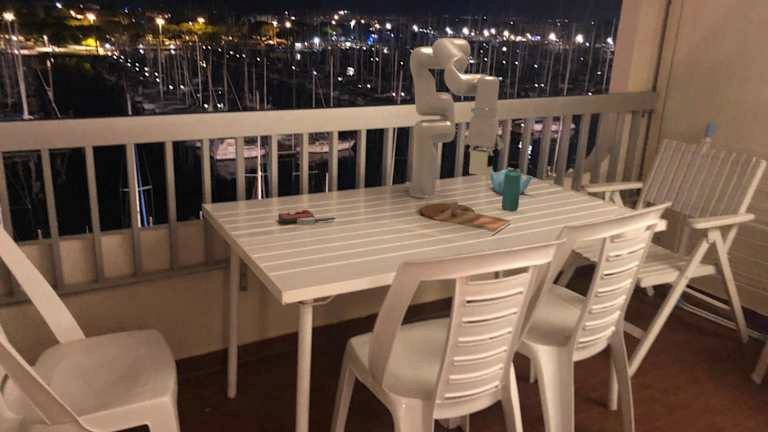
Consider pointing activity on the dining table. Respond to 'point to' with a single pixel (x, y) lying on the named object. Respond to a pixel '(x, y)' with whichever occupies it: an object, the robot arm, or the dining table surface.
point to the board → (472, 219)
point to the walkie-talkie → (299, 217)
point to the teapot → (499, 181)
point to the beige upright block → (479, 162)
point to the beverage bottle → (511, 188)
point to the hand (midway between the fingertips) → (481, 164)
